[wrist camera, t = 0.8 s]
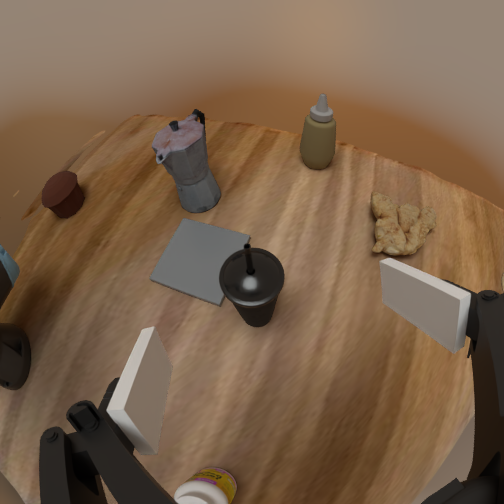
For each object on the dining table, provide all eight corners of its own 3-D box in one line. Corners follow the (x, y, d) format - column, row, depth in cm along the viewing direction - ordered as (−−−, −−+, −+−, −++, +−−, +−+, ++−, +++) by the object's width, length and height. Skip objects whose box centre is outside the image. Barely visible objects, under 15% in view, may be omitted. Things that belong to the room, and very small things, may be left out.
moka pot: (165, 220, 55) (130, 144, 38) (194, 169, 62) (174, 96, 45) (207, 228, 53) (181, 146, 36) (232, 174, 61) (220, 96, 44)
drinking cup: (226, 302, 45) (197, 231, 28) (268, 284, 46) (265, 205, 29) (244, 343, 41) (224, 295, 24) (289, 323, 43) (301, 262, 26)
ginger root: (347, 244, 48) (362, 210, 42) (367, 203, 57) (380, 174, 51) (418, 284, 43) (441, 255, 37) (426, 236, 53) (443, 209, 47)
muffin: (82, 183, 65) (66, 157, 56) (94, 201, 60) (75, 174, 52) (51, 209, 61) (33, 185, 53) (59, 230, 57) (38, 206, 48)
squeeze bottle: (312, 177, 59) (320, 107, 43) (292, 157, 63) (294, 90, 47) (339, 166, 60) (352, 100, 45) (319, 147, 64) (325, 84, 49)
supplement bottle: (232, 464, 31) (216, 487, 20) (241, 499, 28) (229, 533, 17) (189, 467, 31) (158, 488, 20) (198, 502, 28) (171, 532, 17)
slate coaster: (151, 280, 48) (149, 278, 47) (184, 221, 55) (183, 218, 54) (220, 306, 45) (219, 304, 44) (250, 238, 51) (249, 235, 51)
